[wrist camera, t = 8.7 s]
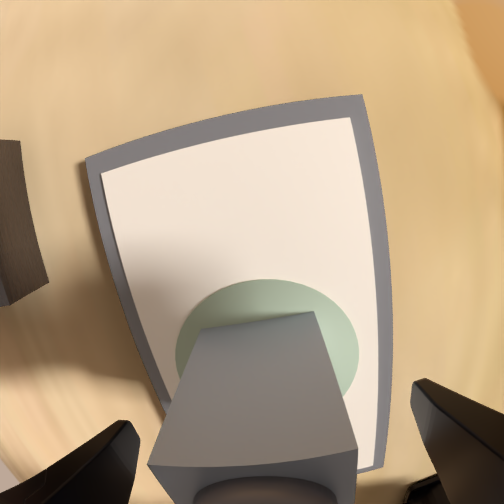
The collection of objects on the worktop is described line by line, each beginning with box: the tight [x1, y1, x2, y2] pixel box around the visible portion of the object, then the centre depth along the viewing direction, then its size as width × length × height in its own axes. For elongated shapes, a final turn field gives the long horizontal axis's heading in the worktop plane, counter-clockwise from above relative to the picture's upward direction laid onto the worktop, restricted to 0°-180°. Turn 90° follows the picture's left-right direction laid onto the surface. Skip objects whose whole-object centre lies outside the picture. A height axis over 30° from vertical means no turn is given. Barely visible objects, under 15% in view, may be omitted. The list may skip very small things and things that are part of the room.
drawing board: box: [85, 94, 393, 474], centre depth 12 cm, size 10×18×2 cm, turn 12°
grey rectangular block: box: [147, 311, 358, 504], centre depth 8 cm, size 4×4×7 cm
